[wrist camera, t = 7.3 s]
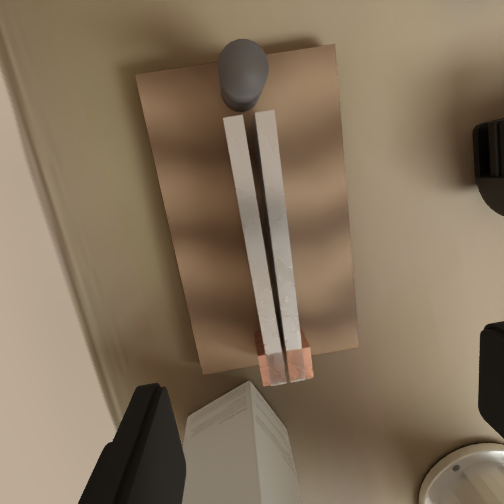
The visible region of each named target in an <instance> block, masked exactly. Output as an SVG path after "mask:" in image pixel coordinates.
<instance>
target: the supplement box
mask: <svg viewBox="0 0 504 504" xmlns="http://www.w3.org/2000/svg"><path fill="white" fill-rule="evenodd" d="M182 449H183V452H184V456H185V460H186V480H185V486H184V493H183V500H182V504H303V500H302V496H301V491H300V487H299V482H298V478H297V473H296V469H295V465H294V460H293V456H292V451H291V446H290V442H289V437H288V433H287V429H286V428H285V426H284V425H283V423H282V422H281V421H280V419H279V418H278V417H277V415H276V414H275V413H274V411H273V410H272V409H271V407H270V406H269V405H268V404H267V402H266V401H265V400H264V398H263V397H262V396H261V394H260V393H259V392H258V390H257V389H256V388H255V386H254V385H253V384H252V382H251V381H250V380H249V381H247V382H245V383H243V384H241V385H240V386H238V387H236V388H234V389H233V390H231V391H230V392H228V393H226V394H224V395H223V396H221V397H219V398H217V399H216V400H214V401H212V402H211V403H209V404H207V405H206V406H204V407H202V408H201V409H199V410H197V411H196V412H194V413H192V414H191V415H189V416H188V417H187V422H186V429H185V435H184V441H183V447H182Z"/></svg>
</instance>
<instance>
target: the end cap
mask: <svg viewBox="0 0 504 504" xmlns="http://www.w3.org/2000/svg"><path fill="white" fill-rule="evenodd" d="M473 148H474V165H475V176H476V180H477V185H478V189H479V192H480V194H481V196H482V198H483V199H484V201H485V203H486V204H487V205H488V206H489V207H490V208H491V209H492V210H494V211H495V212H496V213H498V214H500V215H502V216H504V118H502V119H498V120H494V121H490V122H486V123H482V124H479V125H477V126H476V127H475V128H474V130H473Z"/></svg>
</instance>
